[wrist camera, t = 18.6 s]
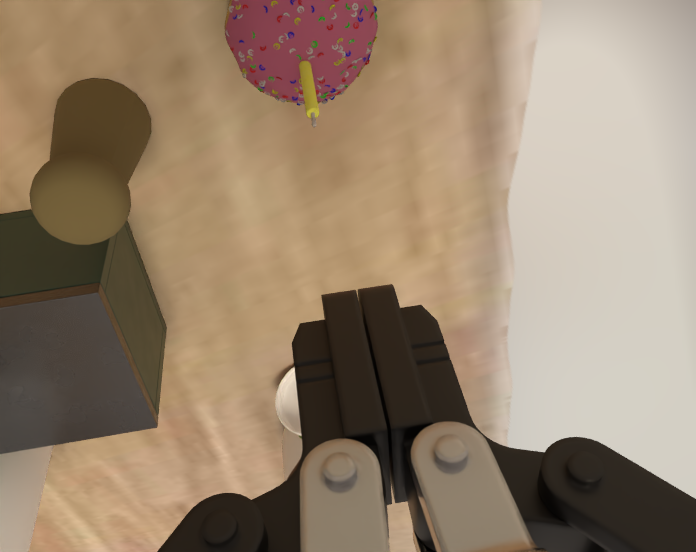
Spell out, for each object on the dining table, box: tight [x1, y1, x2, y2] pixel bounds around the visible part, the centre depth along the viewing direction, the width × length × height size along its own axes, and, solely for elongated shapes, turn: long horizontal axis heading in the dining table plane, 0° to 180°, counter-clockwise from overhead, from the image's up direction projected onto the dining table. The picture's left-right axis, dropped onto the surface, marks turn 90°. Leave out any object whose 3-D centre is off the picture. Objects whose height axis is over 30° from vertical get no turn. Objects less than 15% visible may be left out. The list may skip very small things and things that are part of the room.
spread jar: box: [275, 367, 302, 481], centre depth 61 cm, size 12×11×12 cm
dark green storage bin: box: [0, 210, 166, 415], centre depth 48 cm, size 15×13×9 cm
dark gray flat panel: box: [0, 283, 158, 454], centre depth 44 cm, size 16×13×1 cm
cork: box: [30, 78, 151, 245], centre depth 40 cm, size 6×6×11 cm
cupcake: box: [225, 0, 378, 127], centre depth 36 cm, size 9×8×12 cm
